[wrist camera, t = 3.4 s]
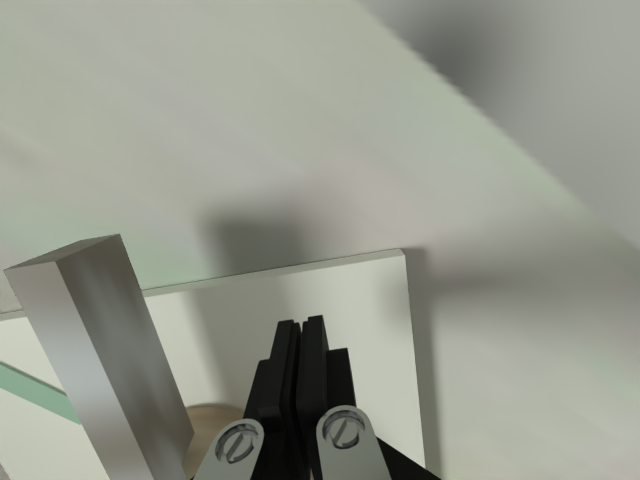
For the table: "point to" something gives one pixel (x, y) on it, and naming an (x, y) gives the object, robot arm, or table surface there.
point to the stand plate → (228, 356)
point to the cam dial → (114, 361)
